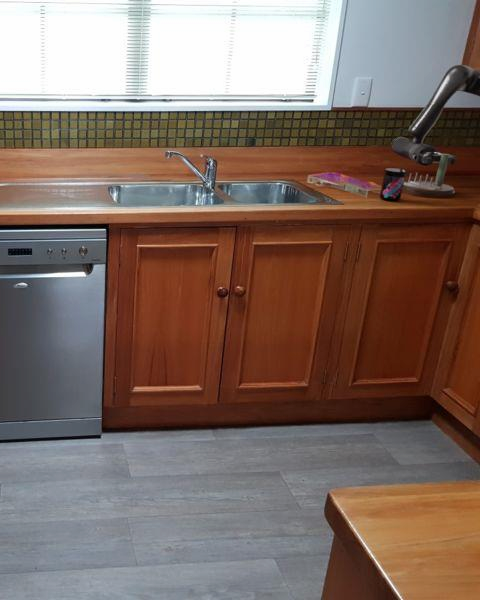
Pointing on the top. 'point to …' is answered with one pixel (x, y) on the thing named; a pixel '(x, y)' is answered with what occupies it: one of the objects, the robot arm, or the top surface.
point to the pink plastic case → (349, 182)
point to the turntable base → (428, 194)
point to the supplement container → (392, 184)
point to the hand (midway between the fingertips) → (442, 161)
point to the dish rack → (431, 186)
